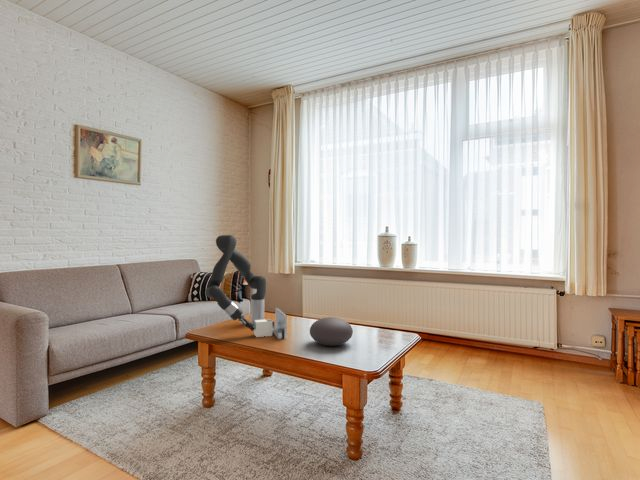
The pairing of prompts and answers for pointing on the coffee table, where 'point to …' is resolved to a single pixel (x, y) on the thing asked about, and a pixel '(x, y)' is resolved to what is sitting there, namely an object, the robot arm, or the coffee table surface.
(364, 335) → the coffee table surface
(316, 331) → the flattened ellipsoid
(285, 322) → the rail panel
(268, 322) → the block
